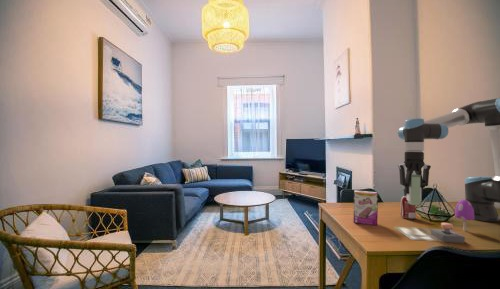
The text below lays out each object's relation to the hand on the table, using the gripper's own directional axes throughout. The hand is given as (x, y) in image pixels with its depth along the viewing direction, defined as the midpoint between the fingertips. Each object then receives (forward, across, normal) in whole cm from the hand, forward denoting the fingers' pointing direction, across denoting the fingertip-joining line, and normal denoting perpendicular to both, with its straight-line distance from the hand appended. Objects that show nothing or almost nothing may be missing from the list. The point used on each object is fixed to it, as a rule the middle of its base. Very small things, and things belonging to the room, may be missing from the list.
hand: (413, 200), depth 109 cm
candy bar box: (+15, +19, -8) cm, 25 cm away
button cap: (+12, -9, +9) cm, 17 cm away
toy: (+14, -23, -2) cm, 27 cm away
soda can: (+14, -8, -22) cm, 27 cm away
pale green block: (+2, 0, 0) cm, 2 cm away
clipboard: (+14, -2, +4) cm, 15 cm away
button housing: (+14, -9, +8) cm, 18 cm away
